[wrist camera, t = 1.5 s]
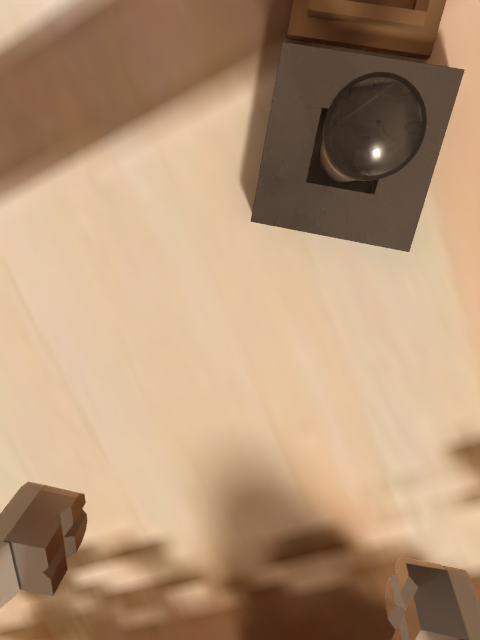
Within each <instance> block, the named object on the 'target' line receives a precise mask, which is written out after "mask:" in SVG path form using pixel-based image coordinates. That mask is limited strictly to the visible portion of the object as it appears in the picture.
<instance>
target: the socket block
mask: <svg viewBox="0 0 480 640" xmlns="http://www.w3.org/2000/svg"><path fill="white" fill-rule="evenodd" d="M373 72H389V73H393V74H397V75H399V76H401V77H403V78H405V79H407V80H408V81H409V82H410V83H412V84H413V85H414V87H415V88H416V89H417V90H418V92H419V93H420V95H421V97H422V99H423V101H424V105H425V108H426V114H427V125H426V132H425V136H424V139H423V142H422V144H421V146H420V148H419V150H418V152H417V153H416V155H415V156H414V157H413V159H412V160H411V161H410V162H409V163H408V164H407V165H406V166H405V167H404V168H402V169H401V170H400V171H398V172H396V173H395V174H393V175H390V176H388V177H385V178H382V179H377V180H373V183H372V187H371V191H370V194H368V193H363V192H357V191H352V190H346V189H340V188H335V187H329V186H324V185H318V184H313V183H307V182H306V181H307V176H308V171H309V167H310V162H311V157H312V153H313V148H314V143H315V139H316V134H317V129H318V124H319V120H320V115H321V114H324V115H327V112H328V110H329V107H330V105H331V103H332V101H333V100H334V98H335V97H336V95H337V94H338V93H339V92H340V91H341V90H342V88H344V87H345V86H346V85H347V84H348V83H350V82H351V81H353V80H354V79H356V78H358V77H360V76H362V75H365V74H369V73H373ZM463 73H464V69H457V68H451V67H444V66H437V65H431V64H424V63H418V62H411V61H404V60H398V59H391V58H384V57H378V56H371V55H365V54H358V53H351V52H345V51H338V50H332V49H325V48H318V47H312V46H305V45H298V44H292V43H285V42H283V43H282V49H281V54H280V60H279V66H278V71H277V77H276V83H275V88H274V94H273V99H272V105H271V111H270V116H269V122H268V127H267V133H266V139H265V144H264V150H263V155H262V161H261V167H260V172H259V178H258V184H257V189H256V195H255V200H254V206H253V212H252V217H251V222H256V223H261V224H266V225H271V226H277V227H282V228H287V229H292V230H297V231H303V232H308V233H313V234H318V235H323V236H329V237H334V238H339V239H344V240H349V241H355V242H360V243H365V244H370V245H375V246H381V247H386V248H391V249H396V250H401V251H407V252H409V251H410V247H411V244H412V241H413V237H414V234H415V231H416V228H417V224H418V221H419V218H420V214H421V211H422V208H423V205H424V201H425V198H426V195H427V191H428V188H429V185H430V182H431V178H432V175H433V172H434V168H435V165H436V162H437V159H438V155H439V152H440V149H441V146H442V142H443V139H444V136H445V132H446V129H447V126H448V123H449V119H450V116H451V113H452V109H453V106H454V103H455V100H456V96H457V93H458V90H459V86H460V83H461V80H462V77H463Z"/></svg>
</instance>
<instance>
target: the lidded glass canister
mask: <svg viewBox="0 0 480 640" xmlns="http://www.w3.org/2000/svg"><path fill="white" fill-rule="evenodd" d="M426 125H427V114H426V108H425V105H424V101H423V99H422V97H421V95H420V93H419V92H418V90H417V89H416V88H415V87H414V85H413V84H412V83H410V82H409V81H408V80H407V79H405V78H403V77H401V76H399V75H397V74H393V73H389V72H373V73H369V74H365V75H362V76H360V77H358V78H356V79H354V80H353V81H351V82H350V83H348V84H347V85H346V86H345V87H344V88H342V90H341V91H340V92H339V93H338V94H337V95H336V97H335V98H334V100H333V101H332V103H331V105H330V107H329V110H328V112H327V115H326V119H325V122H324V127H323V141H322V144H321V147H320V151H319V162H320V166H321V168H322V170H323V172H324V173H325V174H326V176H328V177H329V178H330V179H332V180H334V181H337V182H351V181H355V180H359V181H371V180H377V179H382V178H385V177H388V176H390V175H393V174H395V173H396V172H398V171H400V170H401V169H402V168H404V167H405V166H406V165H407V164H408V163H409V162H410V161H411V160H412V159H413V157H414V156H415V155H416V153H417V152H418V150H419V148H420V146H421V144H422V142H423V139H424V136H425V132H426Z"/></svg>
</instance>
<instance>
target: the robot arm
mask: <svg viewBox="0 0 480 640" xmlns="http://www.w3.org/2000/svg"><path fill="white" fill-rule="evenodd" d="M85 503H86V502H85V495H84V494H82V493H78V492H73V491H69V490H64V489H60V488H55V487H51V486H47V485H42V484H37V483H32V482H27V483H26V484H24V485H23V486H22V487H21V488H20V489H19V490H18V492H17V493H16V494H15V495H14V497H13V498H12V499H11V501H10V502H9V503H8V505H7V506H6V507H5V508H4V510H3V511H2V512H1V514H0V608H1V607H2V606H4V605H5V604H6V603H7V602H8V601H10V600H11V599H12V598H13V597H14V596H16V595H17V594H18V593H19V592H20V590H25V591H31V592H36V593H41V594H46V595H52V596H54V594H55V592H56V590H57V588H58V586H59V584H60V582H61V581H62V579H63V577H64V575H65V573H66V571H67V561H66V559H67V558H69V557H70V556H72V555H73V554H75V553H76V552H77V550H78V548H79V546H80V544H81V542H82V540H83V537H84V534H85V531H86V526H87V514H86V513H85V512H84V511H83V509H82V508H83V506H84V505H85ZM395 567H396V572H397V574H395V575H393V576H391V577H390V579H389V581H388V584H387V589H386V610H387V617H388V620H389V621H390V623H391V624H392V626H393V627H394V628H395V630H396V631H395V633H394V635H393V637H392V639H391V640H480V604H479V601H478V598H477V596H476V593H475V590H474V587H473V584H472V582H471V579H470V576H469V575H468V573H467V572H466V571H465V570H463V569H458V568H452V567H447V566H442V565H440V564H435V563H429V562H424V561H419V560H413V559H408V558H402V557H401V558H400V559H398V561H397V563H396V565H395Z"/></svg>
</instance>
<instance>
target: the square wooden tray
mask: <svg viewBox="0 0 480 640" xmlns="http://www.w3.org/2000/svg"><path fill="white" fill-rule="evenodd" d="M445 3H446V0H293V3H292V8H291V14H290V19H289V25H288V31H287V38H289V39H296V40H303V41H309V42H316V43H323V44H329V45H336V46H343V47H349V48H356V49H363V50H369V51H376V52H383V53H389V54H396V55H403V56H409V57H416V58H423V59H428V58H429V57H430V56H431V53H432V49H433V46H434V42H435V38H436V35H437V31H438V28H439V24H440V21H441V17H442V13H443V10H444V6H445Z"/></svg>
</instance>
